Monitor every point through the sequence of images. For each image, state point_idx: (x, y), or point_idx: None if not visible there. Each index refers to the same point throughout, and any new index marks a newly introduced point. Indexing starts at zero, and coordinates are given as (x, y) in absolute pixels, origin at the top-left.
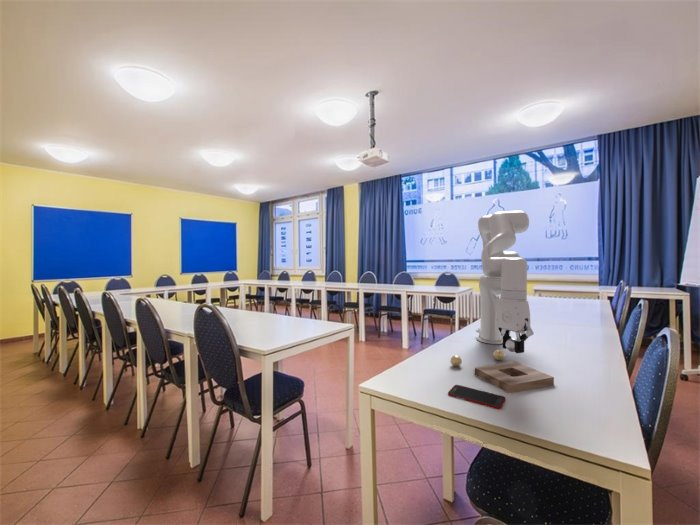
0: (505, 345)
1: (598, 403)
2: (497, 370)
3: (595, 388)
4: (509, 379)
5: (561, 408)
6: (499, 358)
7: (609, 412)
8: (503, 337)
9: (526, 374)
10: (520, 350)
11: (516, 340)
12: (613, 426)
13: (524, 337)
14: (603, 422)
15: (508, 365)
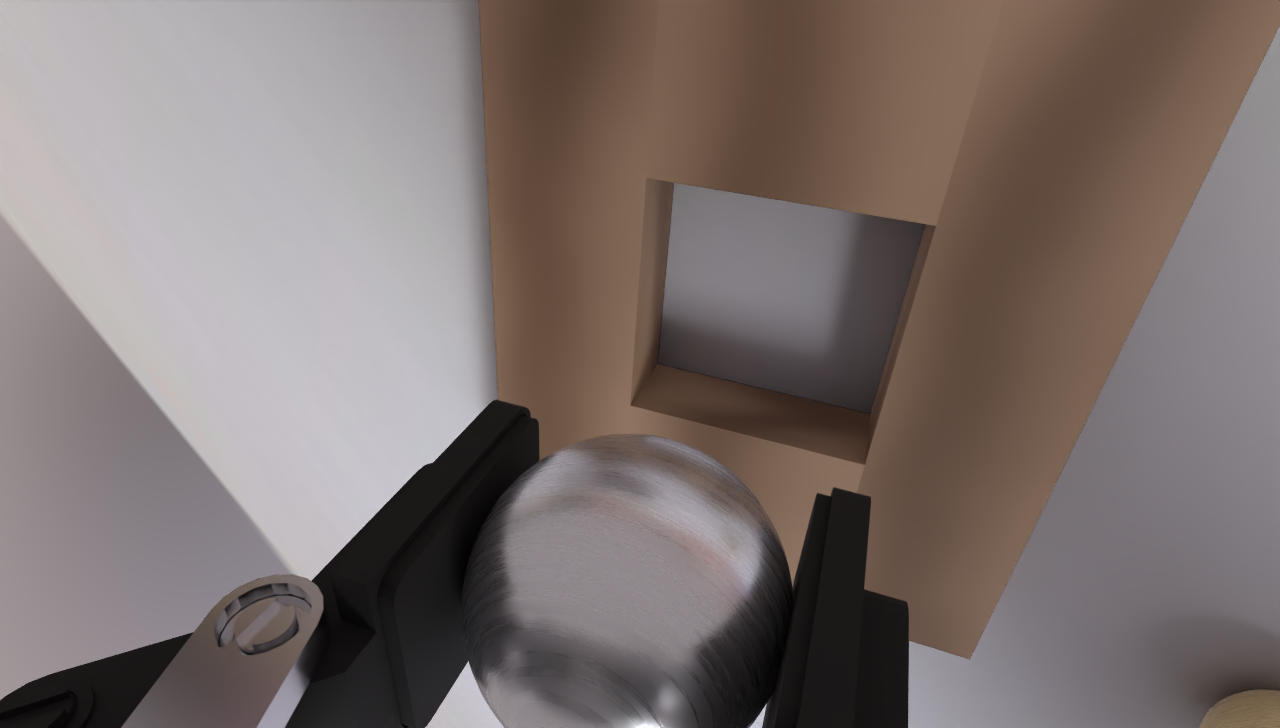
0: (747, 513)
1: (260, 396)
2: (915, 203)
3: None
4: (610, 57)
5: (213, 91)
6: (1239, 702)
7: (165, 323)
8: (804, 722)
9: (659, 406)
10: (429, 464)
11: (476, 681)
12: (25, 153)
13: (55, 676)
14: (59, 152)
15: (935, 491)
